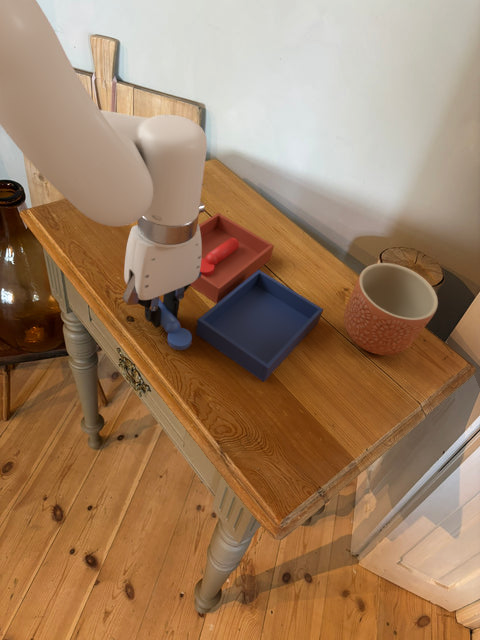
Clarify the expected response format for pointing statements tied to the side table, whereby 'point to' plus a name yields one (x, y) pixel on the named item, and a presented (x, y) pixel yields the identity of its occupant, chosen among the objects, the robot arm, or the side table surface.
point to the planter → (388, 308)
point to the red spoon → (218, 256)
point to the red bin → (230, 257)
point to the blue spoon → (174, 329)
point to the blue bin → (259, 324)
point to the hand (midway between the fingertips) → (161, 317)
